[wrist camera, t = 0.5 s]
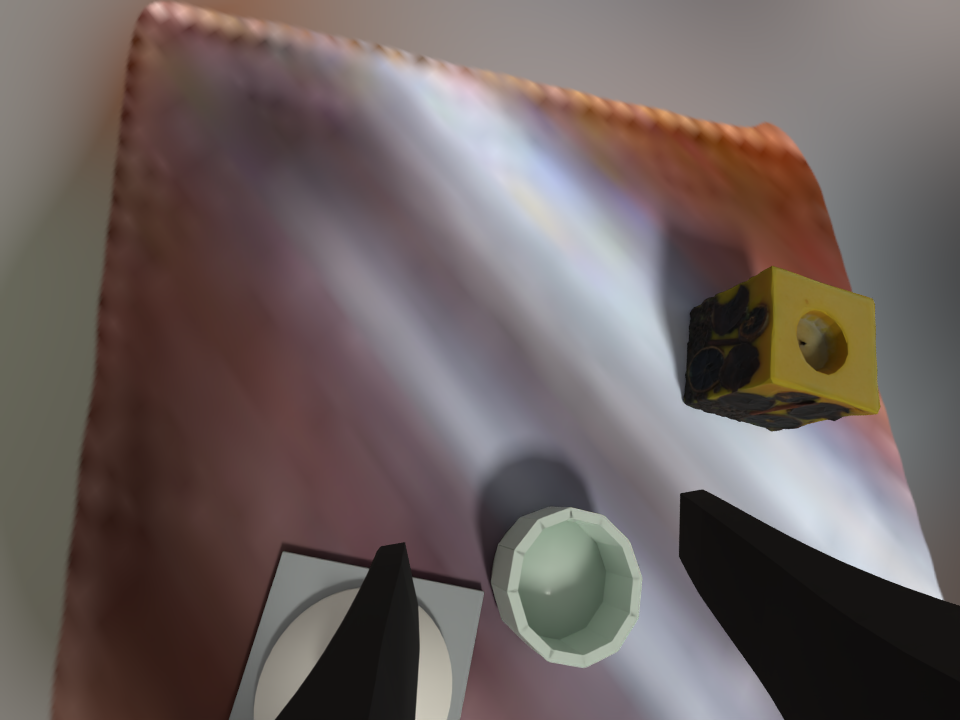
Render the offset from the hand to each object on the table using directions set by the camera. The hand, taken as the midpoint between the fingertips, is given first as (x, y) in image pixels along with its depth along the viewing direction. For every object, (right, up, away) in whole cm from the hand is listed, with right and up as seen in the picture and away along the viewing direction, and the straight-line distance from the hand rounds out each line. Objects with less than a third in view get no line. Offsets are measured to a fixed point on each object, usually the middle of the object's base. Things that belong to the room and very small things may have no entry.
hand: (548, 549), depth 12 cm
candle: (+22, +4, +34) cm, 41 cm away
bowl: (+4, -11, +24) cm, 27 cm away
